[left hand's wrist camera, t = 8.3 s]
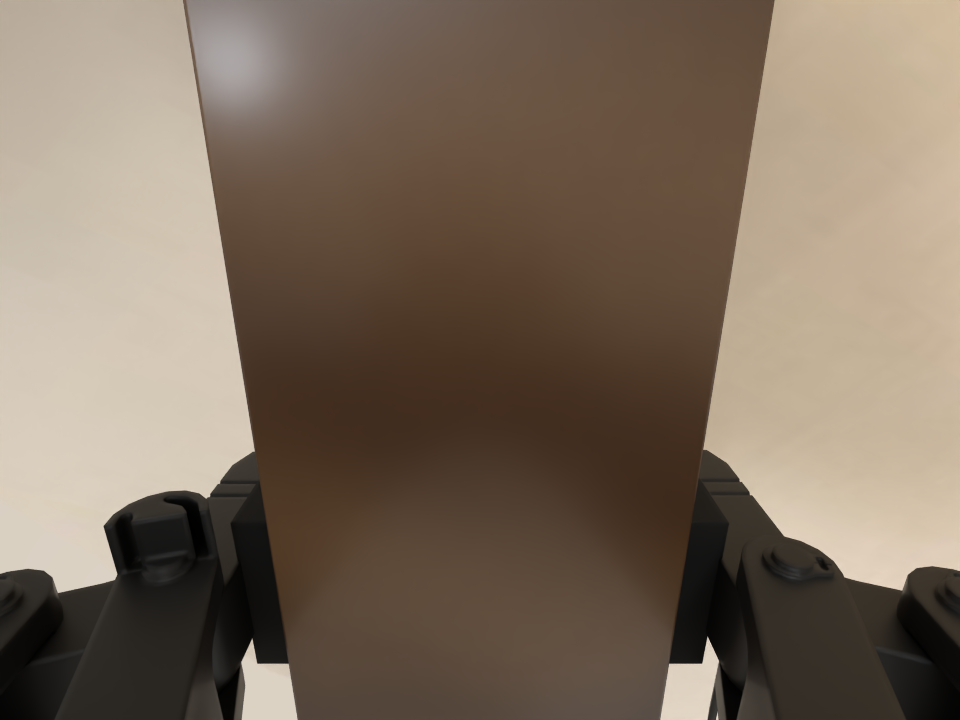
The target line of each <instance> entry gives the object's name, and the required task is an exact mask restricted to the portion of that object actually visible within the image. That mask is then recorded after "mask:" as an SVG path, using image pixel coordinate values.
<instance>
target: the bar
mask: <svg viewBox="0 0 960 720" xmlns="http://www.w3.org/2000/svg"><path fill="white" fill-rule="evenodd" d="M183 3H184V9H185V15H186V22H187V28H188V34H189V41H190V47H191V53H192V59H193V66H194V72H195V78H196V84H197V91H198V97H199V103H200V110H201V116H202V122H203V128H204V135H205V141H206V147H207V153H208V160H209V166H210V172H211V179H212V185H213V191H214V197H215V204H216V210H217V216H218V222H219V229H220V235H221V241H222V248H223V254H224V260H225V266H226V273H227V279H228V285H229V291H230V298H231V304H232V310H233V317H234V323H235V329H236V335H237V342H238V348H239V354H240V360H241V367H242V373H243V379H244V385H245V392H246V398H247V404H248V411H249V417H250V423H251V429H252V436H253V442H254V448H255V454H256V461H257V467H258V473H259V480H260V486H261V492H262V498H263V505H264V511H265V517H266V523H267V530H268V536H269V542H270V549H271V555H272V561H273V567H274V574H275V580H276V586H277V592H278V599H279V605H280V611H281V618H282V624H283V630H284V636H285V643H286V649H287V655H288V661H289V668H290V674H291V680H292V686H293V693H294V699H295V705H296V712H297V718H298V720H660V717H661V711H662V704H663V698H664V692H665V686H666V679H667V673H668V667H669V660H670V654H671V648H672V642H673V635H674V629H675V623H676V616H677V610H678V604H679V598H680V591H681V585H682V579H683V572H684V566H685V560H686V554H687V547H688V541H689V535H690V528H691V522H692V516H693V510H694V503H695V497H696V491H697V484H698V478H699V472H700V466H701V459H702V453H703V447H704V440H705V434H706V428H707V422H708V415H709V409H710V403H711V396H712V390H713V384H714V378H715V371H716V365H717V359H718V352H719V346H720V340H721V334H722V327H723V321H724V315H725V308H726V302H727V296H728V290H729V283H730V277H731V271H732V264H733V258H734V252H735V246H736V239H737V233H738V227H739V220H740V214H741V208H742V202H743V195H744V189H745V183H746V176H747V170H748V164H749V158H750V151H751V145H752V139H753V132H754V126H755V120H756V114H757V107H758V101H759V95H760V88H761V82H762V76H763V70H764V63H765V57H766V51H767V44H768V38H769V32H770V26H771V19H772V13H773V7H774V0H183Z"/></svg>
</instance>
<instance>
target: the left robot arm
mask: <svg viewBox="0 0 960 720" xmlns="http://www.w3.org/2000/svg"><path fill="white" fill-rule="evenodd" d="M104 529H105V533H106V536H107V540H108V543H109V547H110V550H111V553H112V557H113V560H114V564H115V567H116V571H117V574H118V575H117V577H116V579H115V580H114V581H110V582H106V583H103V584H98V585H94V586H89V587H84V588H80V589H75V590H71V591H66V592H61V593H58V592H57V590H56V587H55V584H54V581H53V578H52V577H51V576H50V575H48V574H47V573H46V572H45V571H41V570H33V569H24V570H17V571H10V572H6V573H2V574H0V720H242V710H243V701H244V692H245V681H244V674H243V669H242V664H241V661H242V659H243V657H244V655H245V653H246V651H247V648H248V646H249V644H250V642H251V640H252V638H253V644H254V649H255V654H256V659H257V664H289V661H288V655H287V649H286V643H285V636H284V630H283V624H282V618H281V611H280V605H279V599H278V592H277V586H276V580H275V574H274V567H273V561H272V555H271V549H270V542H269V536H268V530H267V523H266V517H265V511H264V505H263V498H262V492H261V486H260V480H259V473H258V467H257V461H256V454H255V452H252V453H251V454H249V455H247V456H246V457H244V458H243V459H241V460H240V461H238V462H237V463H235V464H234V465H232V467H231V468H230V469H229V471H228V472H227V473H226V474H225V476H224V477H223V478H222V480H221V481H220V484H218V485H217V486H216V487H215V489H214V490H213V491H212V493H211V494H210V497H208V498H207V499H206V498H204V497H203V496H202V495H201V494H199V493H194V492H190V491H168V492H163V493H159V494H155V495H151V496H147V497H145V498H142V499H140V500H138V501H135V502H133V503H131V504H129V505H127V506H126V507H124V508H123V509H121V510H120V511H118V512H117V513H115V514H114V515H113V516H112V517H111V518H110V519H109V520H108V522H107V523H106V524H105V525H104ZM707 636H708V638H709V640H710V642H711V644H712V647H713V649H714V651H715V653H716V655H717V657H718V660H719V664H718V669H717V674H716V679H715V683H714V688H713V693H712V698H711V703H710V708H709V714H708V720H716V716H717V712H718V718H719V720H960V571H957V570H954V569H947V568H940V567H933V566H931V567H923V568H916V569H915V570H914V571H912V572H911V573H910V574H908V576H907V579H906V582H905V585H904V588H903V591H901V590H896V589H891V588H887V587H882V586H878V585H873V584H868V583H864V582H859V581H855V580H851V579H848V578H844V576H843V574H842V572H841V571H840V569H839V568H838V567H837V565H836V564H835V562H834V561H833V560H831V559H830V558H829V557H828V556H826V555H825V554H824V553H822V552H821V551H820V550H818V549H816V548H814V547H812V546H810V545H808V544H806V543H804V542H802V541H799V540H795V539H791V538H787V537H784V536H783V534H782V533H781V532H780V531H779V529H778V528H777V527H776V525H775V524H774V523H773V522H772V520H771V519H770V518H769V516H768V515H767V514H766V513H765V511H764V510H763V509H762V507H761V506H760V505H759V504H758V502H757V501H756V500H755V498H754V497H753V496H752V495H750V494H749V491H748V489H747V488H746V487H745V486H744V484H743V483H742V482H740V481H739V478H738V477H737V475H736V474H735V473H734V472H733V470H732V469H731V468H730V466H729V465H728V464H727V463H726V462H724V461H723V460H721V459H720V458H718V457H717V456H715V455H714V454H712V453H710V452H709V451H707V450H703V453H702V459H701V466H700V472H699V478H698V484H697V491H696V497H695V503H694V510H693V516H692V522H691V528H690V535H689V541H688V547H687V554H686V560H685V566H684V572H683V579H682V585H681V591H680V598H679V604H678V610H677V616H676V623H675V629H674V635H673V642H672V648H671V654H670V660H669V664H702V662H703V657H704V651H705V646H706V641H707Z"/></svg>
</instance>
